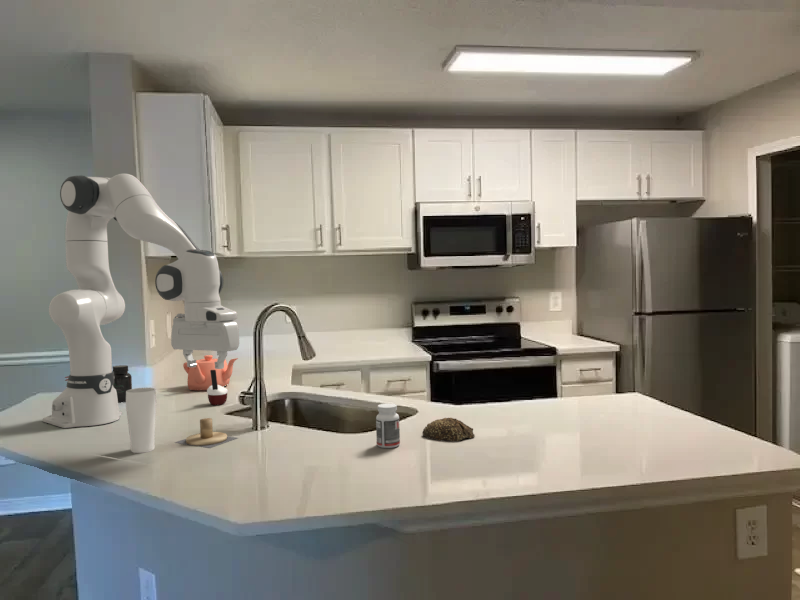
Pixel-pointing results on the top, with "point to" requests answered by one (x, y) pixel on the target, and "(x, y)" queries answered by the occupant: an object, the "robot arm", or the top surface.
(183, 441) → the mat
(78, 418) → the robot arm
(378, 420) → the pill bottle
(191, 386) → the pot
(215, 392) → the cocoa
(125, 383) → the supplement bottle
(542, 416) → the top surface
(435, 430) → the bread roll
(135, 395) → the drinking glass
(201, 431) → the lid
